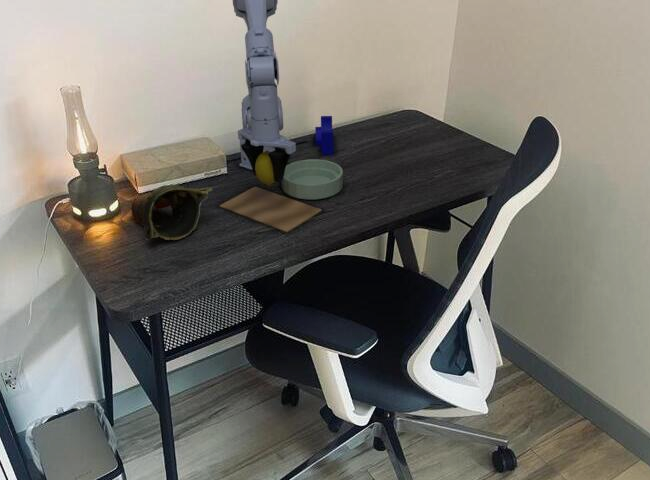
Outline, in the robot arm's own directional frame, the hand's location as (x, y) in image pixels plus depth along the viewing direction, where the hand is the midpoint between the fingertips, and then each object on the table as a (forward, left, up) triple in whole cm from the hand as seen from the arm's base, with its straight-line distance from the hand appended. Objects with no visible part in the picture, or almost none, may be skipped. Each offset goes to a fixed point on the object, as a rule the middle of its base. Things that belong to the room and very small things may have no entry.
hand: (268, 176), depth 145 cm
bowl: (+1, +14, -8) cm, 16 cm away
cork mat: (0, 0, -8) cm, 8 cm away
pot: (-11, -20, -8) cm, 24 cm away
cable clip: (-12, +35, -8) cm, 38 cm away
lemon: (0, 0, -2) cm, 2 cm away
